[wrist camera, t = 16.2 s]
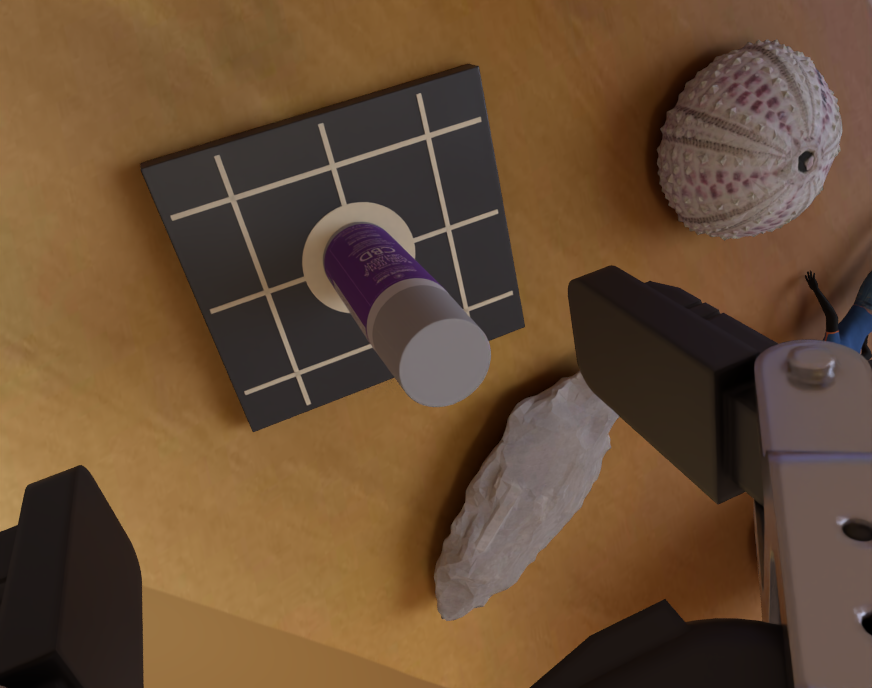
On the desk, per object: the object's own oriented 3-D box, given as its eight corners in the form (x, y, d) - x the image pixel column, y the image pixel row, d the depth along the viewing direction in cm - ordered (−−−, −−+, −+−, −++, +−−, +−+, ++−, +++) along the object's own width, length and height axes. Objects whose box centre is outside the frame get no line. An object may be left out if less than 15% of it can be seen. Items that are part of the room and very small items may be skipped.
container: (364, 205, 45) (455, 294, 32) (410, 258, 47) (511, 361, 35) (306, 257, 45) (374, 367, 32) (355, 307, 47) (436, 427, 35)
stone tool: (681, 405, 57) (505, 654, 61) (641, 376, 61) (480, 610, 65) (579, 350, 51) (393, 630, 55) (543, 322, 55) (373, 584, 60)
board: (250, 421, 50) (253, 433, 48) (139, 163, 41) (140, 169, 39) (516, 319, 54) (525, 327, 53) (469, 63, 45) (479, 66, 44)
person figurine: (873, 167, 62) (751, 345, 62) (927, 172, 58) (796, 363, 58) (922, 239, 68) (810, 403, 68) (974, 248, 64) (855, 422, 64)
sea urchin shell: (629, 77, 49) (708, 93, 42) (796, 10, 51) (897, 15, 44) (653, 254, 56) (725, 292, 49) (800, 188, 58) (888, 216, 51)
